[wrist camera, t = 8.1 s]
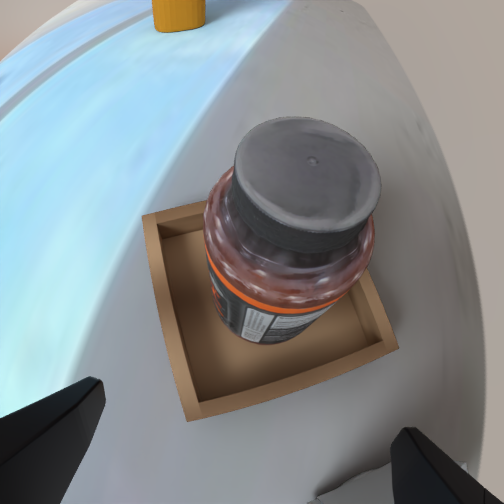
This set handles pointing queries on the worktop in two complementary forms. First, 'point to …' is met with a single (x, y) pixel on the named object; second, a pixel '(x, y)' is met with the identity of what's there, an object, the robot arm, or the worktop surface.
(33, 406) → the robot arm
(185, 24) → the flashlight
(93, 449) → the worktop surface
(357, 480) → the grey open square bin
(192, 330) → the tray
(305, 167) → the supplement bottle
